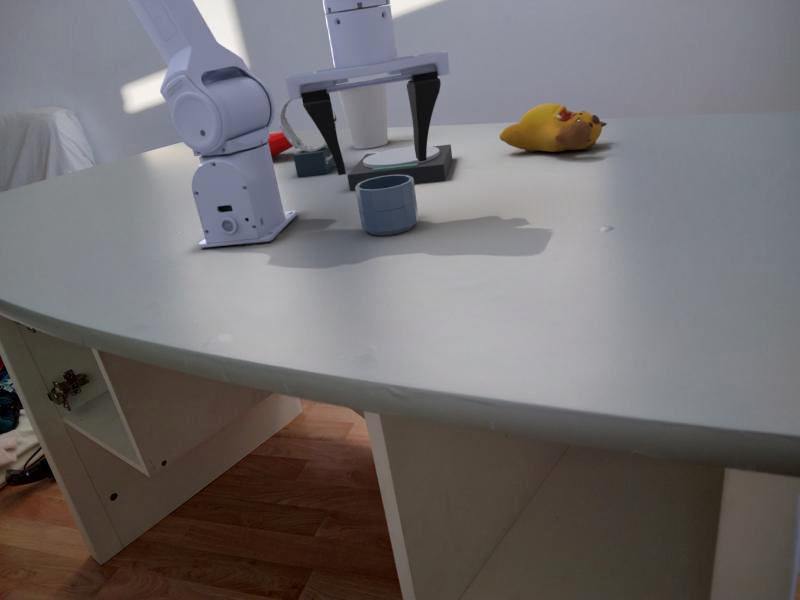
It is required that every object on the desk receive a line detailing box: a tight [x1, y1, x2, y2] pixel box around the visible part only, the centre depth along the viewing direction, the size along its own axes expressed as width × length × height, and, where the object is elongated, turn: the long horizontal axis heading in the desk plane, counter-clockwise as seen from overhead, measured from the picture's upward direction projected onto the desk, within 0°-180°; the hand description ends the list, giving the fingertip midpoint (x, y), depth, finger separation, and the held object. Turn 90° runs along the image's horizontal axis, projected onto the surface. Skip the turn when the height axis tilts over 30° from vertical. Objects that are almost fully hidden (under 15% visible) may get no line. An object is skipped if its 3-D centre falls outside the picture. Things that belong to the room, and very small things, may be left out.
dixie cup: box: [337, 79, 389, 150], centre depth 106 cm, size 8×8×10 cm
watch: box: [278, 97, 338, 178], centre depth 92 cm, size 6×8×11 cm
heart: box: [267, 131, 294, 159], centre depth 109 cm, size 12×4×10 cm
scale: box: [346, 143, 453, 191], centre depth 84 cm, size 12×12×2 cm
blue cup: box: [354, 175, 419, 236], centre depth 63 cm, size 6×6×5 cm
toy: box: [499, 102, 608, 153], centre depth 83 cm, size 11×6×15 cm
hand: (381, 166), depth 61 cm, fingers open, 7 cm apart
